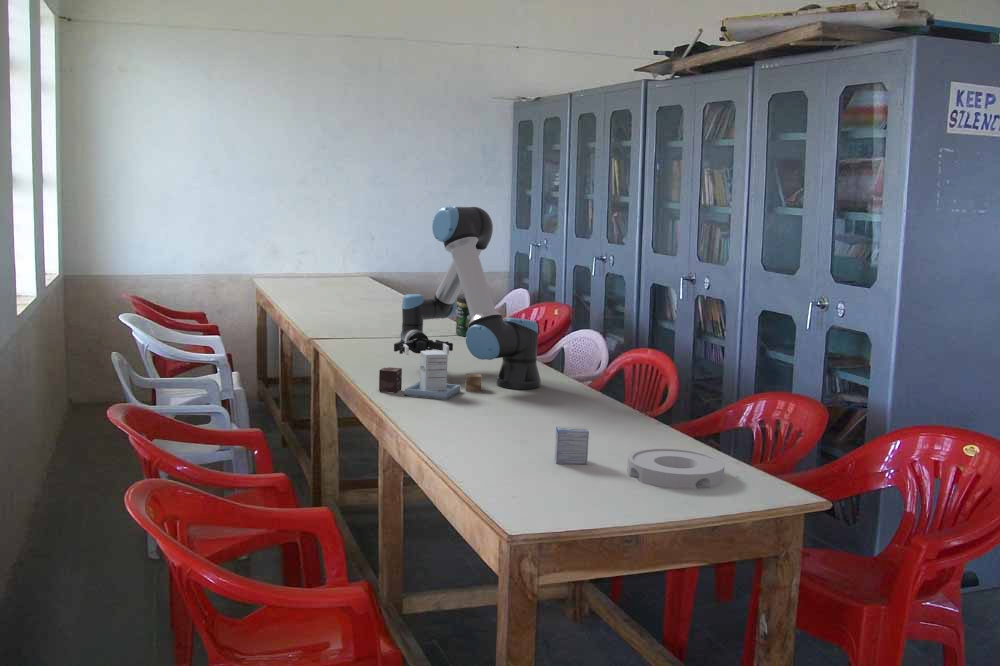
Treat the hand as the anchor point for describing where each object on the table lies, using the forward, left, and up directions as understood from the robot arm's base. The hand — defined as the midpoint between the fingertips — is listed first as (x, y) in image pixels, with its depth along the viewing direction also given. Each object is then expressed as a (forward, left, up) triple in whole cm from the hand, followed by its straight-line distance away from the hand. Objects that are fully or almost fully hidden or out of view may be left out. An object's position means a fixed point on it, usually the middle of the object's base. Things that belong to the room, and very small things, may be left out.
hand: (427, 350), depth 329 cm
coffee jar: (+23, -115, -13) cm, 118 cm away
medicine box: (-63, +70, -13) cm, 95 cm away
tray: (-5, +9, -12) cm, 16 cm away
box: (+9, +11, -13) cm, 19 cm away
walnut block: (-15, -3, -12) cm, 20 cm away
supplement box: (-5, +9, -12) cm, 15 cm away
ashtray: (-89, +71, -13) cm, 115 cm away
